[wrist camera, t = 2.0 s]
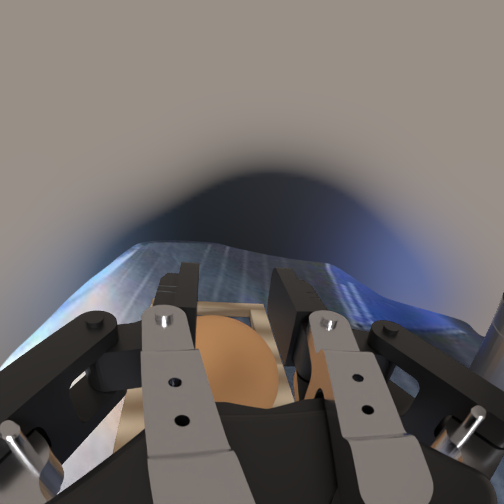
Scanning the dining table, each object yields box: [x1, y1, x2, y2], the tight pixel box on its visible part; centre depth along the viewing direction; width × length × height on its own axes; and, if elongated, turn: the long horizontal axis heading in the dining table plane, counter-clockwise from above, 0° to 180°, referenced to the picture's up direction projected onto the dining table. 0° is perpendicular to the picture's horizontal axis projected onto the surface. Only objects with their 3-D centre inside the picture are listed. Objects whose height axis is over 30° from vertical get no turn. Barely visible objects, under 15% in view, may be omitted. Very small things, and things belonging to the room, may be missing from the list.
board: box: [113, 298, 294, 453], centre depth 37 cm, size 32×19×2 cm, turn 7°
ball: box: [196, 315, 279, 409], centre depth 26 cm, size 12×12×12 cm
